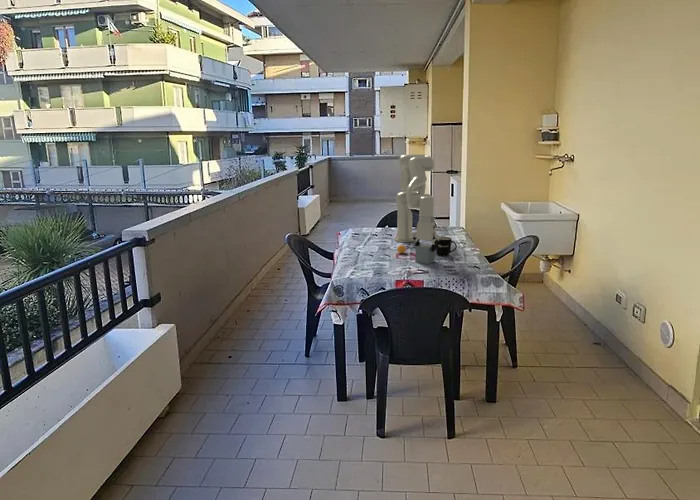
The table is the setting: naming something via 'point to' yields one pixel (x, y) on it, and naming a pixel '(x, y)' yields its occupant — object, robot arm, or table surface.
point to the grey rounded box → (424, 254)
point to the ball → (401, 249)
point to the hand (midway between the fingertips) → (425, 250)
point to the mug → (444, 246)
